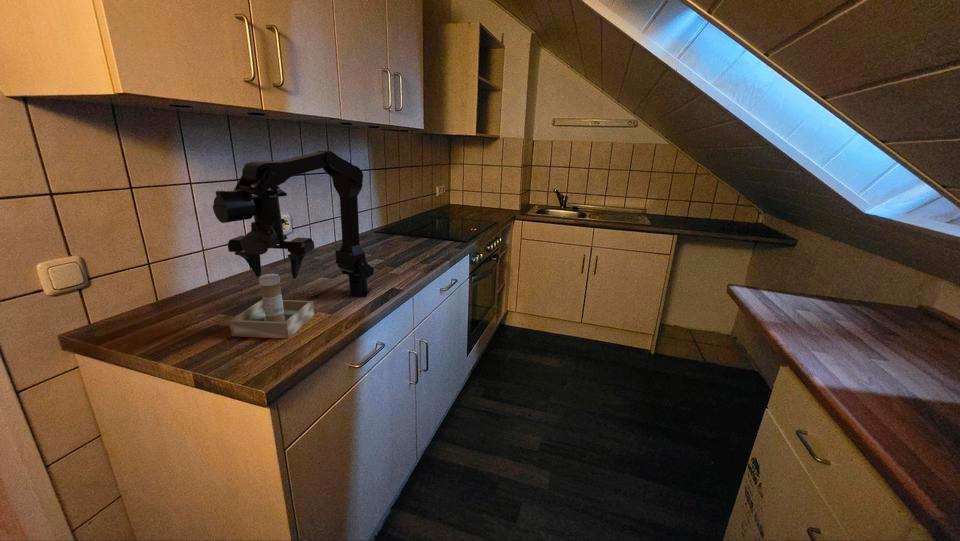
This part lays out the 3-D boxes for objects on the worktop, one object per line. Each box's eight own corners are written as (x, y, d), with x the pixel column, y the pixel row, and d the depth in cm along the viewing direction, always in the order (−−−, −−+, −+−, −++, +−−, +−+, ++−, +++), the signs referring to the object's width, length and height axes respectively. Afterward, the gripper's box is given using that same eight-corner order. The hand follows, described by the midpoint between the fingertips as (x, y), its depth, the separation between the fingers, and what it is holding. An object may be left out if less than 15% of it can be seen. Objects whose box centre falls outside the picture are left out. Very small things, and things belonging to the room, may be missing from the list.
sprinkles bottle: (283, 319, 101) (276, 271, 97) (288, 325, 98) (281, 276, 93) (264, 323, 98) (256, 275, 94) (268, 330, 95) (260, 280, 91)
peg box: (264, 312, 105) (262, 299, 103) (314, 314, 104) (312, 301, 103) (231, 336, 91) (229, 321, 90) (289, 338, 91) (286, 323, 90)
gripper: (205, 221, 82) (218, 287, 87) (289, 224, 82) (297, 290, 87) (237, 213, 93) (247, 272, 98) (312, 215, 93) (318, 275, 98)
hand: (276, 277), depth 95 cm, fingers open, 9 cm apart
